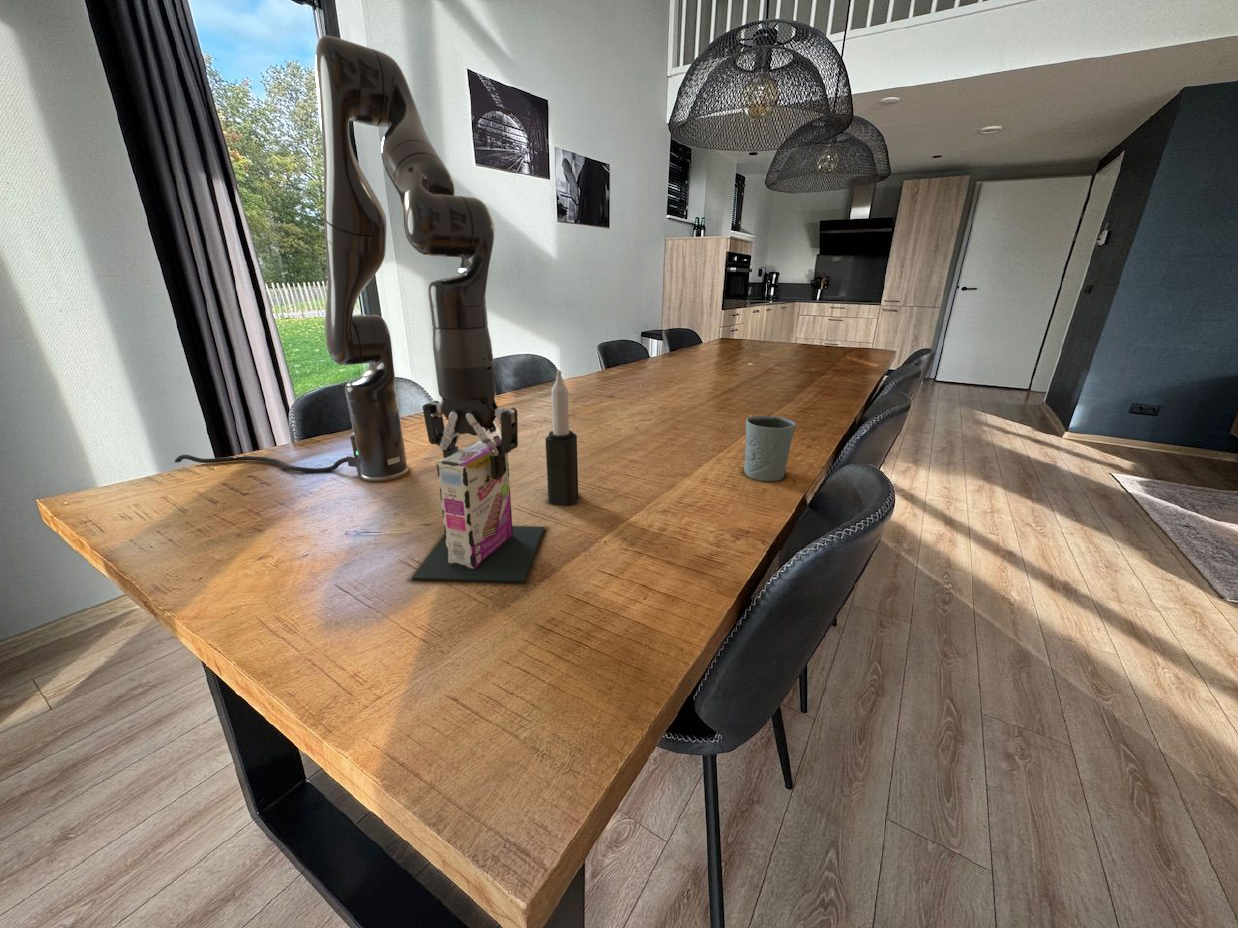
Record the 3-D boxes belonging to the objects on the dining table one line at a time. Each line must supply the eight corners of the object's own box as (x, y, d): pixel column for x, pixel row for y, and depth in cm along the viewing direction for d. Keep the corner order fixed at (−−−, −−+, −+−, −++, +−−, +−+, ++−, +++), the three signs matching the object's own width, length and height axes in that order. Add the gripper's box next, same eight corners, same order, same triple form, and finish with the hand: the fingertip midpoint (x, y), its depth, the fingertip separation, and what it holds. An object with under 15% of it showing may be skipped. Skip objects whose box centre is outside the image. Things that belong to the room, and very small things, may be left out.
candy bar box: (476, 571, 71) (464, 465, 65) (447, 564, 73) (433, 461, 67) (515, 535, 81) (508, 441, 75) (489, 530, 82) (480, 437, 77)
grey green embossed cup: (737, 478, 106) (742, 424, 102) (744, 463, 115) (749, 413, 110) (786, 485, 102) (794, 430, 98) (790, 469, 111) (797, 418, 107)
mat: (412, 580, 70) (411, 577, 69) (452, 526, 85) (451, 524, 84) (523, 583, 69) (523, 580, 69) (544, 528, 84) (544, 526, 84)
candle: (572, 505, 93) (568, 373, 84) (546, 503, 93) (540, 372, 85) (579, 494, 97) (576, 368, 88) (555, 492, 98) (549, 367, 89)
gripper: (400, 362, 65) (418, 478, 71) (497, 368, 61) (507, 490, 67) (436, 354, 72) (449, 461, 77) (525, 360, 68) (532, 471, 74)
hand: (476, 474), depth 72 cm, fingers open, 7 cm apart
